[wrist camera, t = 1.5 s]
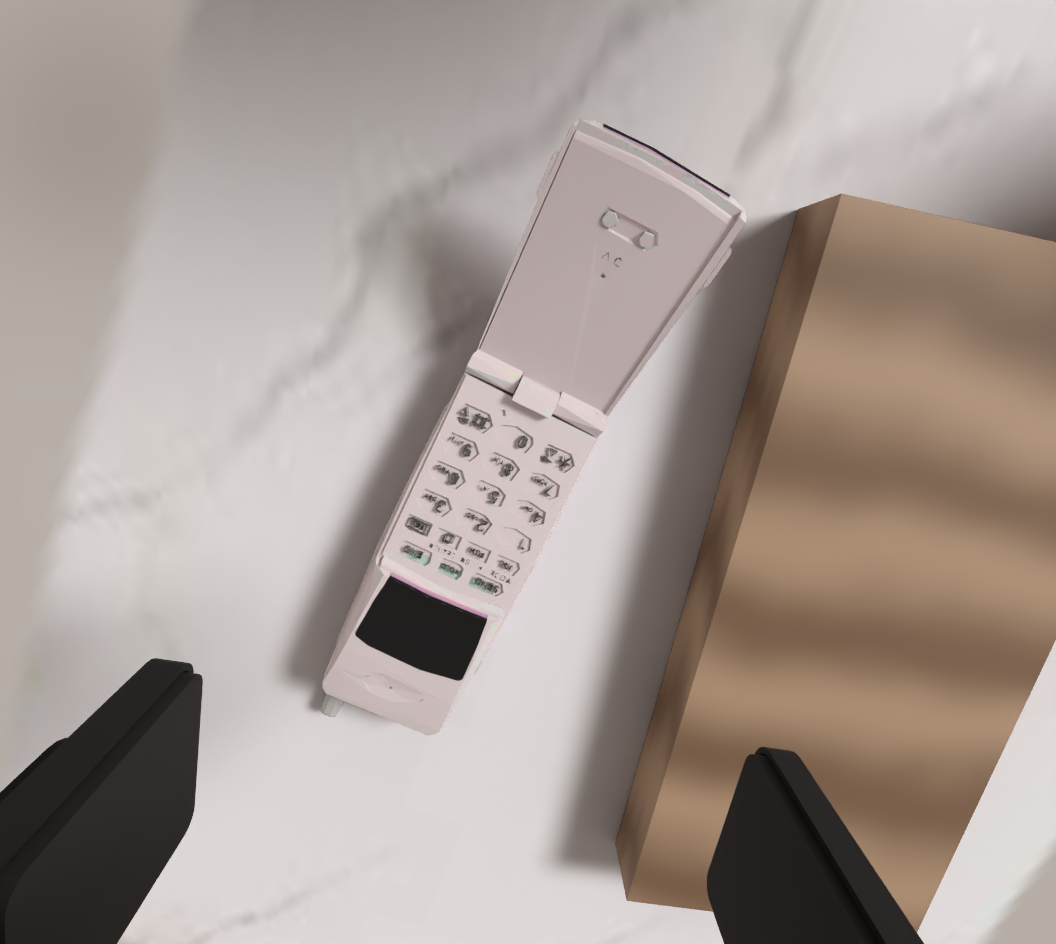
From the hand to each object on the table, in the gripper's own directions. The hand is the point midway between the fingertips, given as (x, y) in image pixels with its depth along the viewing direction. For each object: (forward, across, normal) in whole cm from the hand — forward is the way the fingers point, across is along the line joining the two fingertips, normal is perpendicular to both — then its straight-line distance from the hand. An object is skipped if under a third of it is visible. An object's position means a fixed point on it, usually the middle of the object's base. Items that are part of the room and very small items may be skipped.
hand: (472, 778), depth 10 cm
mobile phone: (+16, 0, -1) cm, 16 cm away
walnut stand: (+15, -16, +2) cm, 22 cm away
